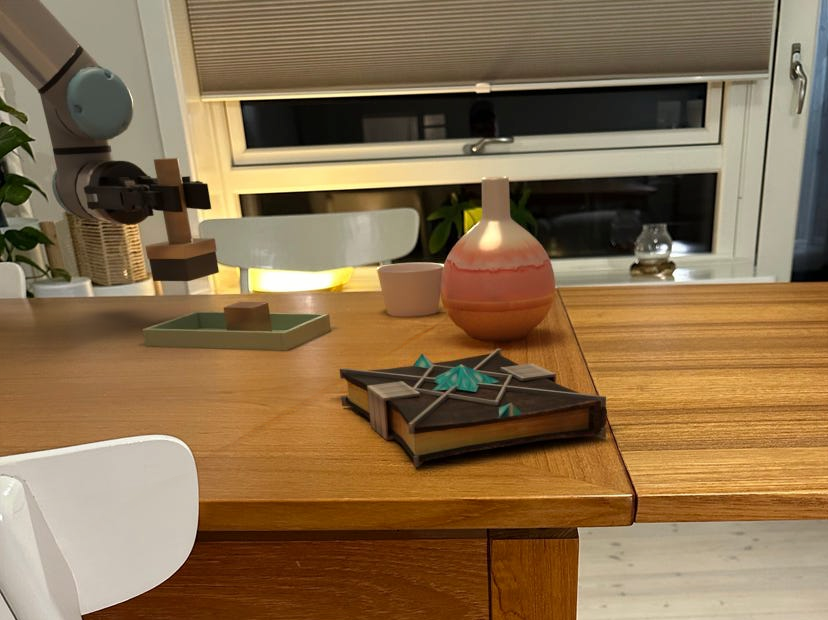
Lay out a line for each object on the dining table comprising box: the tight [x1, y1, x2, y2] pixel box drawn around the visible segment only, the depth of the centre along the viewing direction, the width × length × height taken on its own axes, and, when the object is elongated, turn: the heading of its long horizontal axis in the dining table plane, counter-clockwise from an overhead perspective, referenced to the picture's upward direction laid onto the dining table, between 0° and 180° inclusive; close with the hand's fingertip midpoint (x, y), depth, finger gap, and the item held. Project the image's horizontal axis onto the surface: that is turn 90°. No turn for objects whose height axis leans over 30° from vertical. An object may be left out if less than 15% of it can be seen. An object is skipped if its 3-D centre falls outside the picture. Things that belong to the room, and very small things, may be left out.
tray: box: [142, 310, 332, 352], centre depth 118 cm, size 19×12×3 cm, turn 73°
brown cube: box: [223, 301, 272, 332], centre depth 117 cm, size 4×4×4 cm
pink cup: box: [376, 262, 444, 318], centre depth 130 cm, size 9×9×6 cm
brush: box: [145, 157, 220, 282], centre depth 114 cm, size 5×7×13 cm
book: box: [339, 348, 608, 468], centre depth 83 cm, size 22×17×5 cm
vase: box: [440, 176, 556, 343], centre depth 112 cm, size 14×14×18 cm
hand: (192, 197), depth 109 cm, fingers closed on brush, 3 cm apart
